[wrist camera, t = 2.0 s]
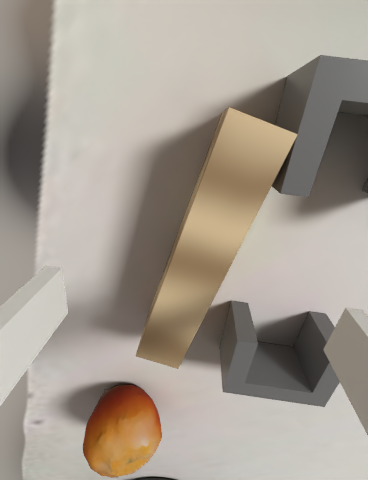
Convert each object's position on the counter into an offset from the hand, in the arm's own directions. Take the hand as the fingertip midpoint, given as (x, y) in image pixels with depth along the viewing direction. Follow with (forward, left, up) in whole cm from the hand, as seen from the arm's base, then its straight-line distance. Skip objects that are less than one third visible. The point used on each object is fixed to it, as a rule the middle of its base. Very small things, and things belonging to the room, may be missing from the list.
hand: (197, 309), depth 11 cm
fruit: (-22, +5, -9) cm, 25 cm away
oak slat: (0, 0, -9) cm, 9 cm away
